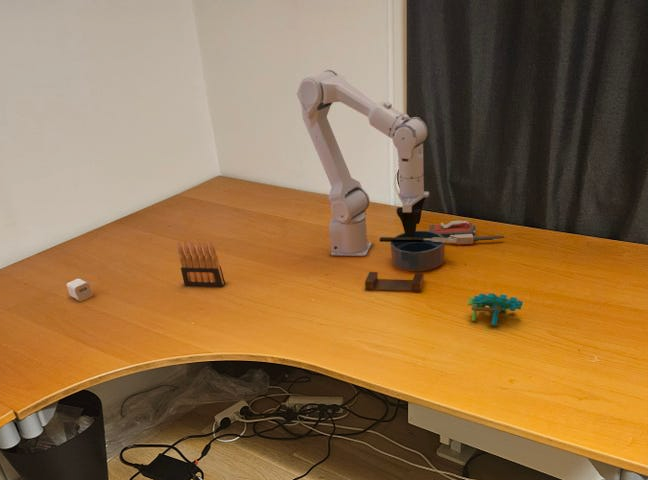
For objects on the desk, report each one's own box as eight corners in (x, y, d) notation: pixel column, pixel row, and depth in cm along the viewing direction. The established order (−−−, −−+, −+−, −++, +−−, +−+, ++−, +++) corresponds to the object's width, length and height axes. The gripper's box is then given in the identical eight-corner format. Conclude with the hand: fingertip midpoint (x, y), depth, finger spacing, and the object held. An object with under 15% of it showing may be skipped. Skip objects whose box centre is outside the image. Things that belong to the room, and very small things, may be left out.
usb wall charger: (79, 302, 156) (73, 288, 153) (66, 295, 160) (60, 281, 157) (93, 295, 158) (88, 281, 156) (80, 288, 162) (75, 275, 160)
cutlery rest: (365, 290, 145) (364, 281, 144) (370, 280, 149) (369, 271, 148) (420, 292, 142) (420, 283, 140) (423, 282, 146) (423, 273, 144)
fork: (379, 242, 154) (378, 240, 153) (381, 238, 156) (380, 236, 155) (456, 243, 149) (456, 241, 148) (457, 239, 150) (457, 237, 150)
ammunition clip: (225, 283, 156) (215, 239, 149) (222, 287, 154) (212, 242, 148) (187, 282, 159) (176, 239, 152) (184, 285, 157) (172, 242, 150)
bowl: (387, 272, 152) (386, 252, 149) (396, 249, 162) (395, 230, 159) (441, 274, 148) (441, 253, 145) (447, 250, 159) (447, 230, 155)
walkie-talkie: (425, 247, 161) (504, 243, 159) (425, 232, 159) (505, 227, 156) (425, 234, 168) (500, 230, 166) (424, 219, 166) (500, 214, 163)
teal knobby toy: (528, 305, 129) (516, 290, 120) (524, 333, 128) (511, 320, 120) (477, 303, 135) (462, 289, 126) (473, 329, 134) (457, 317, 125)
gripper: (423, 185, 136) (424, 242, 144) (432, 164, 148) (433, 218, 155) (392, 185, 138) (395, 241, 146) (403, 164, 150) (405, 217, 157)
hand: (412, 229), depth 151 cm, fingers open, 7 cm apart
